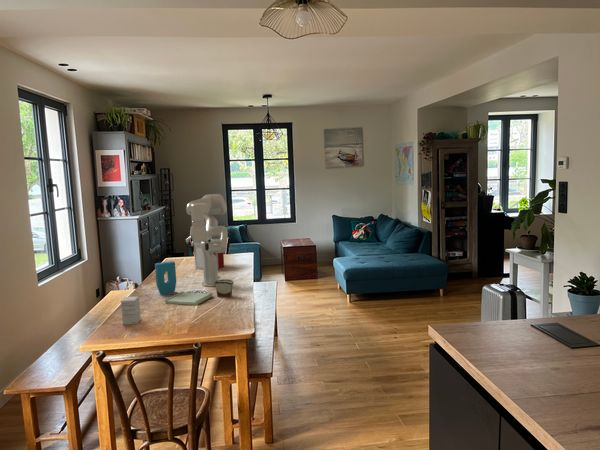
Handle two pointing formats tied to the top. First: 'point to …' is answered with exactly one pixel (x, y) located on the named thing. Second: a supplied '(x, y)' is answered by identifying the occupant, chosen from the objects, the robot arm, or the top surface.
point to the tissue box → (200, 258)
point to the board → (188, 298)
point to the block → (160, 282)
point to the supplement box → (130, 310)
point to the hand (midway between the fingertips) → (199, 251)
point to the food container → (224, 288)
